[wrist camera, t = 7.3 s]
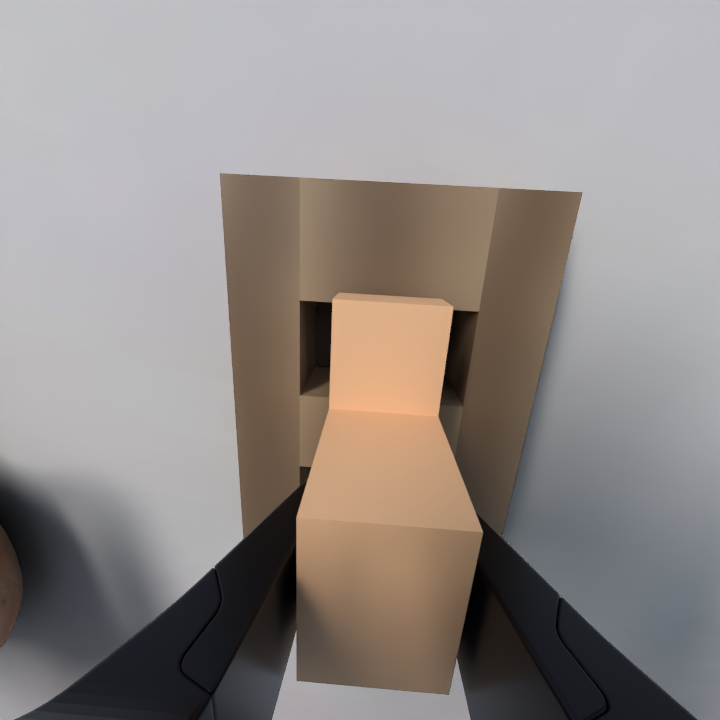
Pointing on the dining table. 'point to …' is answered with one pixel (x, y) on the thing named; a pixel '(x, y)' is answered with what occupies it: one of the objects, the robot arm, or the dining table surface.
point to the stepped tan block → (384, 508)
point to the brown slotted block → (391, 278)
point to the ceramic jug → (9, 587)
